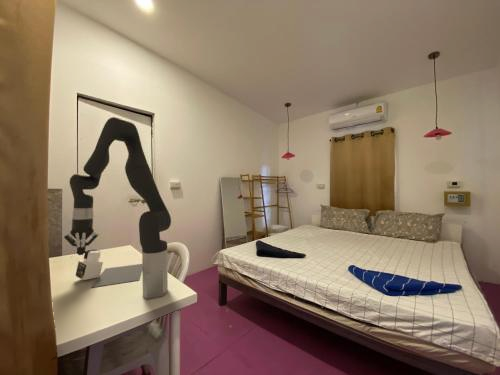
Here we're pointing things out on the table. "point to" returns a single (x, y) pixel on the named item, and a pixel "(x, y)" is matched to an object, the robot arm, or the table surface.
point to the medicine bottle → (89, 265)
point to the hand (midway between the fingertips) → (81, 254)
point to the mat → (119, 275)
